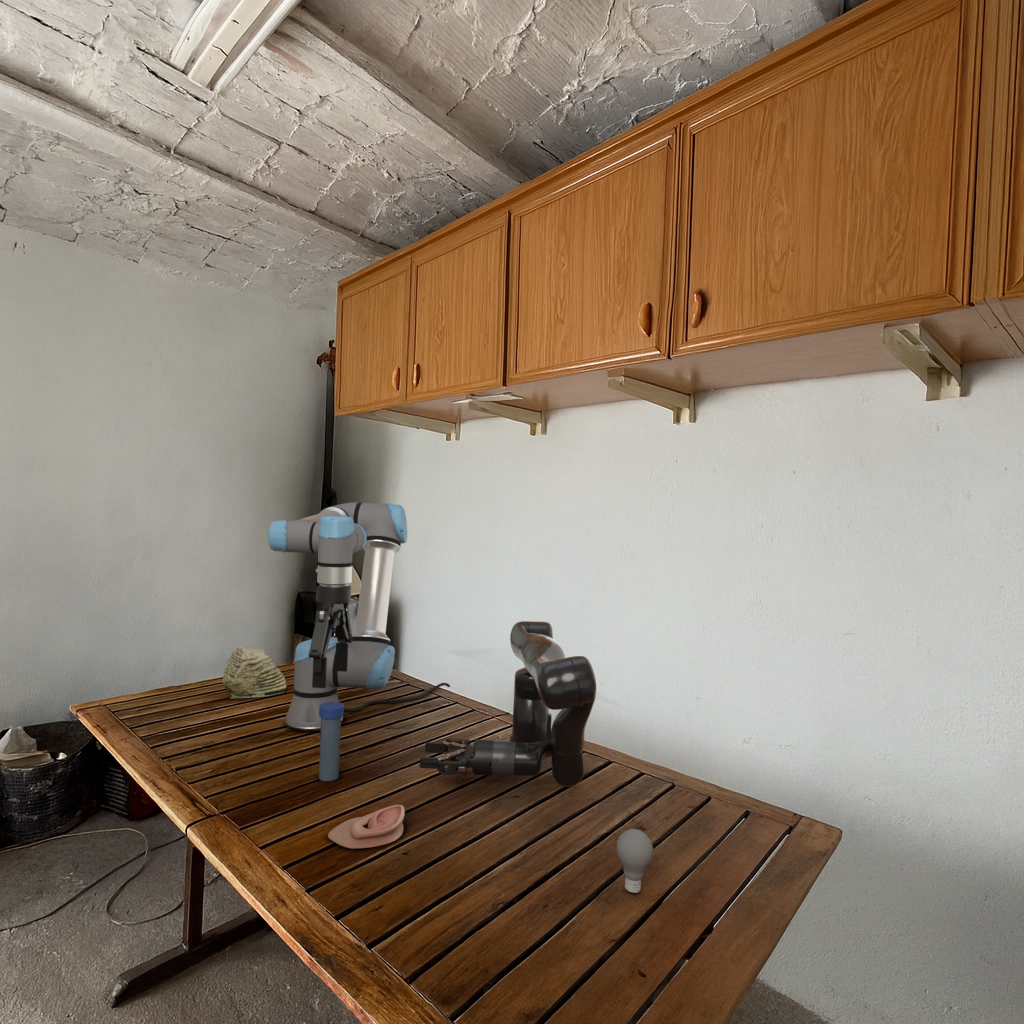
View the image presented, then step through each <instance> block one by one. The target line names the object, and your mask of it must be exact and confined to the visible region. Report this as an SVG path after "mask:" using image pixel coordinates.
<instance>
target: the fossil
mask: <svg viewBox="0 0 1024 1024" xmlns="http://www.w3.org/2000/svg"><path fill="white" fill-rule="evenodd" d="M222 676H223V677H222V685H223V687H224V688H225V690H226V691H228V693H229V698H230V699H250V698H264V697H271V696H275V695H281V694H284V693H285V691H286V689H287V687H288V686H287V680H286V678H285V676H284V674H283V673H282V672H281V669H279V668H278V667H277V665H276V663H275V662H274V660H273V659H272V658H271V657H270V656H269V655H268V654H267V653H266V652H265V650H264V649H263V648H260V647H258V648H251V647H247V646H246V647H245V646H238V647H237V648H236V649H235V650H233V651H232V653H231V656H230V657H229V659H228V660H227V663H226V666H225V668H224V671H223V675H222Z"/></svg>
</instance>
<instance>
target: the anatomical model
mask: <svg viewBox="0 0 1024 1024" xmlns="http://www.w3.org/2000/svg"><path fill="white" fill-rule="evenodd" d="M405 814H406V809H405V806H404V805H403V804H393V805H389V806H386V807H383V808H381V809H377V810H375V811H373V812H371V813H368V814H366V815H363V816H360V817H358V816H357V817H354V818H350V819H347V820H345V821H343V822H341V823H340V824H338V825H336V826H334V827H333V828H332V829H331V830H330V831H329V832H328V834H327V838H328V839H329V840H331V842H333V843H336V845H339V846H341V847H344V848H347V849H366V848H367V849H368V848H374V847H379V846H384V845H388V844H390V843H392V842H394V841H397V840H399V838H401V836H402V835H403V832H404V829H405V828H404V823H403V822H404V820H405Z"/></svg>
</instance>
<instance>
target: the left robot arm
mask: <svg viewBox="0 0 1024 1024" xmlns="http://www.w3.org/2000/svg"><path fill="white" fill-rule="evenodd" d="M407 542H408V521H407V514H406V510H405V508H404V506H402V505H400V504H396V503H395V504H393V503H390V502H388V503H381V502H380V503H378V502H355V501H352V502H345V503H341V504H336V505H333V506H329V507H326V508H324V509H322V510H321V511H319V513H317V514H314V515H310V516H307V517H303V518H300V519H299V518H298V519H296V520H287V519H283V520H273V521H272V522H271V523H270V524H269V528H268V531H267V543H268V546H269V548H270V549H271V550H272V551H274V552H281V553H303V554H304V553H308V554H310V553H311V554H317V568H316V569H315V573H316V574H317V575H316V582H317V584H318V585H317V586H316V591H315V593H316V595H315V600H316V602H317V603H318V604H321V605H322V610H316V613H315V623H314V627H313V631H312V632H313V633H312V636H311V637H312V638H311V639H307V640H304V641H302V642H300V643H298V644H297V645H296V648H295V655H294V660H293V662H294V672H293V695H292V696H293V697H292V699H291V702H290V704H289V708H288V711H287V713H286V715H285V726H286V728H287V729H289V730H291V731H294V732H295V731H296V732H301V733H316V732H321V717H319V706H320V705H321V704H322V703H326V702H340V699H339V695H338V688H353V689H354V688H355V689H368V690H370V689H382V688H384V687H385V686H386V685H387V684H388V682H389V680H390V677H391V675H392V672H393V668H394V663H395V653H396V650H395V647H394V646H392V645H391V639H390V638H389V637H388V635H387V634H386V632H387V624H388V615H389V606H390V596H391V589H392V579H393V570H394V561H395V554H397V553H398V552H400V550H401V547H402V545H401V544H403V545H404V544H406V543H407ZM362 549H363V550H364V558H363V567H362V574H361V580H360V589H359V597H358V602H357V603H358V604H357V611H356V618H355V625H354V626H355V627H354V632H352V631H353V630H352V623H351V618H350V617H351V616H350V602H351V601H352V586H351V585H350V584H352V582H353V555H355V554H357V553H359V552H360V551H361V550H362ZM333 632H334V633H335V637H334V636H332V634H333ZM443 686H445V687H447V688H451V685H450V683H448V682H441V683H439V684H437V685H435V686H433V687H431V688H429V689H427V690H426V691H425V692H423V693H422V694H419V695H415V696H410V697H403V698H402V697H401V698H393V699H391V698H390V699H375V700H370V701H367V702H365V703H363V704H361V705H360V706H357V707H353V708H350V707H348V708H347V707H346V708H345V707H344V711H343V713H346V712H349V713H350V712H353V713H354V712H358V711H360V710H362V709H364V708H366V707H368V706H370V705H374V704H386V703H388V704H390V703H401V702H408V701H409V702H410V701H414V700H419V699H422V698H424V697H425V696H427V695H428V694H430V693H431V692H433V691H435V690H437V689H439V688H441V687H443ZM343 722H344V715H343V716H342V717H341V724H342V723H343Z"/></svg>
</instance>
